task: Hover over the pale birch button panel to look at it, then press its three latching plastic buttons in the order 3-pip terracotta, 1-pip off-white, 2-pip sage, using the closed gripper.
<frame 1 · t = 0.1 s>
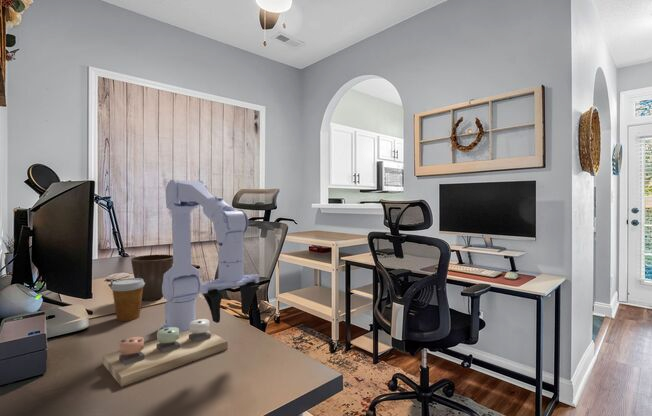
hand: (231, 317, 79), 10 cm above the table, fingers open, 7 cm apart
plant pot: (153, 298, 130), on the table
button 3 terracotta: (131, 344, 75), point 5 cm above the table, slide at 0.0 cm
disposable coffee cup: (128, 318, 107), on the table
button 1 offwhite: (199, 325, 87), point 5 cm above the table, slide at 0.0 cm
button panel: (168, 356, 81), on the table
button 2 sage: (168, 334, 81), point 5 cm above the table, slide at 0.0 cm
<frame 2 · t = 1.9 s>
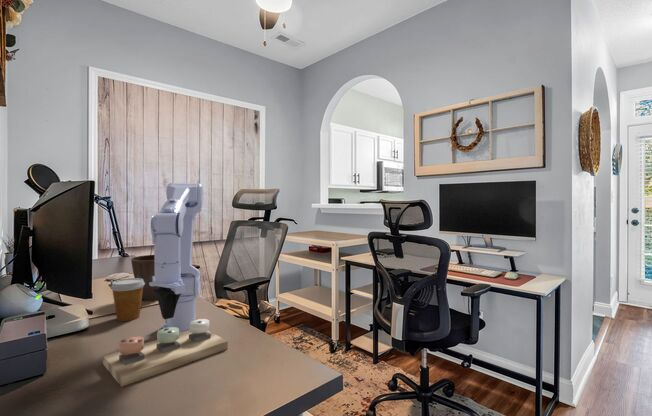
hand: (168, 317, 81), 9 cm above the table, fingers closed
nothing on the table moved.
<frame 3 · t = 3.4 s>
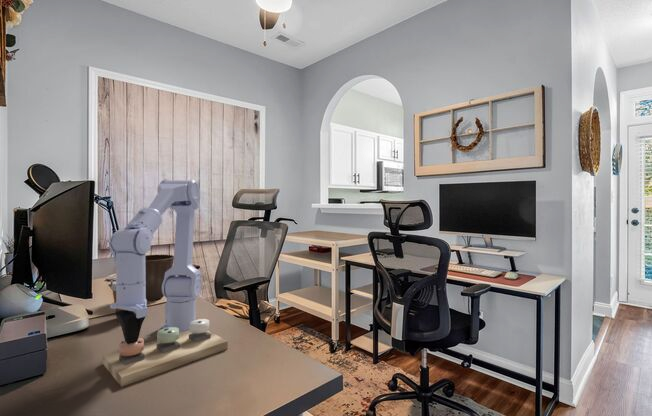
hand: (131, 341, 75), 6 cm above the table, fingers closed, pressing on button 3 terracotta
button 3 terracotta: (131, 346, 75), point 5 cm above the table, slide at 0.3 cm, touching gripper
everything else where it was.
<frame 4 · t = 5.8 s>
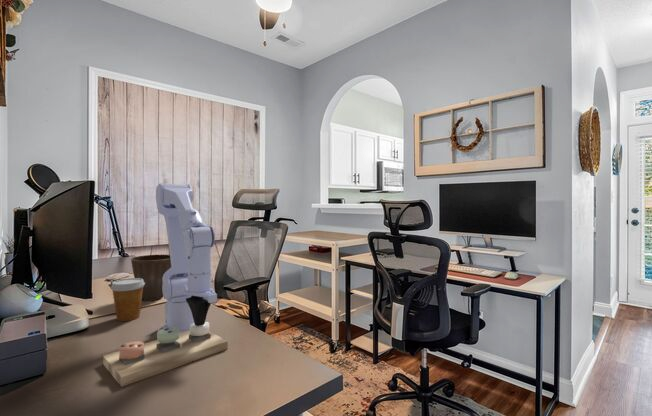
hand: (199, 324, 86), 6 cm above the table, fingers closed, pressing on button 1 offwhite
button 3 terracotta: (131, 349, 75), point 4 cm above the table, slide at 1.1 cm
button 1 offwhite: (199, 328, 87), point 5 cm above the table, slide at 0.7 cm, touching gripper
everything else where it was.
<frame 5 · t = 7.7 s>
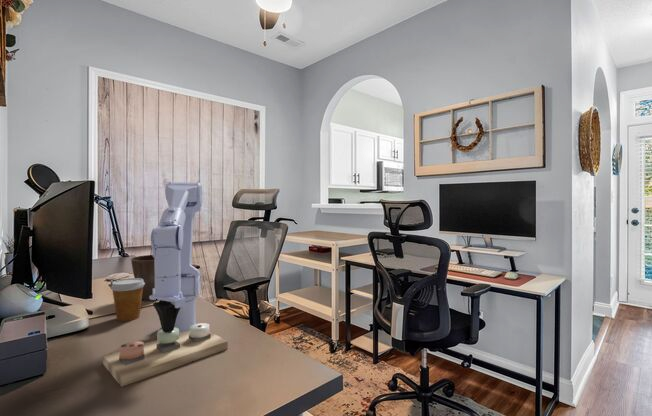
hand: (168, 330, 81), 6 cm above the table, fingers closed, pressing on button 2 sage
button 1 offwhite: (199, 329, 87), point 4 cm above the table, slide at 1.1 cm
button 2 sage: (168, 334, 81), point 5 cm above the table, slide at 0.1 cm, touching gripper
everything else where it was.
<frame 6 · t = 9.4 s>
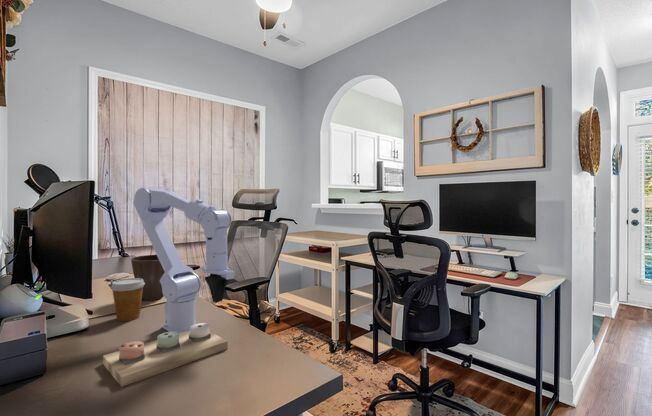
hand: (217, 301, 93), 10 cm above the table, fingers closed
button 2 sage: (168, 339, 81), point 4 cm above the table, slide at 1.1 cm
everything else where it was.
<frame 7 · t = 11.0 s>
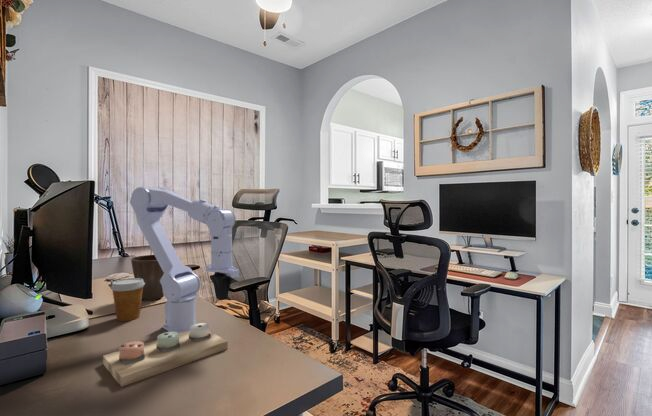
hand: (222, 299, 94), 10 cm above the table, fingers closed
nothing on the table moved.
at the end: button 3 terracotta slide at 1.1 cm; button 1 offwhite slide at 1.1 cm; button 2 sage slide at 1.1 cm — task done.
